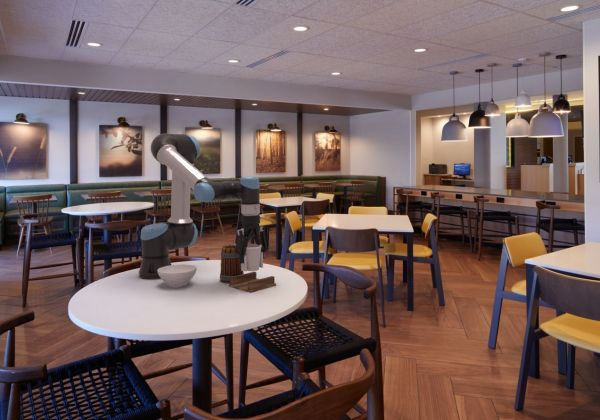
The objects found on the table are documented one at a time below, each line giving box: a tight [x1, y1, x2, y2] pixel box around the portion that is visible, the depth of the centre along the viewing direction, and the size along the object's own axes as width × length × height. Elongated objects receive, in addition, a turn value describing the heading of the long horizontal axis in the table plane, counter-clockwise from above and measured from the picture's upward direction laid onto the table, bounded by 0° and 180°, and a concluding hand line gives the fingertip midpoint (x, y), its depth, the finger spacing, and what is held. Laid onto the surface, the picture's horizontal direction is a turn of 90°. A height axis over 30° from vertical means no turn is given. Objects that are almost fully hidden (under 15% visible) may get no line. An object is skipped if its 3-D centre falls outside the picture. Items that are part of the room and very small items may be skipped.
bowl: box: [157, 263, 197, 288], centre depth 186 cm, size 16×16×7 cm
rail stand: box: [228, 271, 277, 293], centre depth 183 cm, size 14×14×4 cm
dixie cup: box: [245, 243, 262, 272], centre depth 182 cm, size 8×8×10 cm
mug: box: [219, 243, 245, 284], centre depth 194 cm, size 16×11×15 cm
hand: (252, 268), depth 182 cm, fingers closed on dixie cup, 8 cm apart
